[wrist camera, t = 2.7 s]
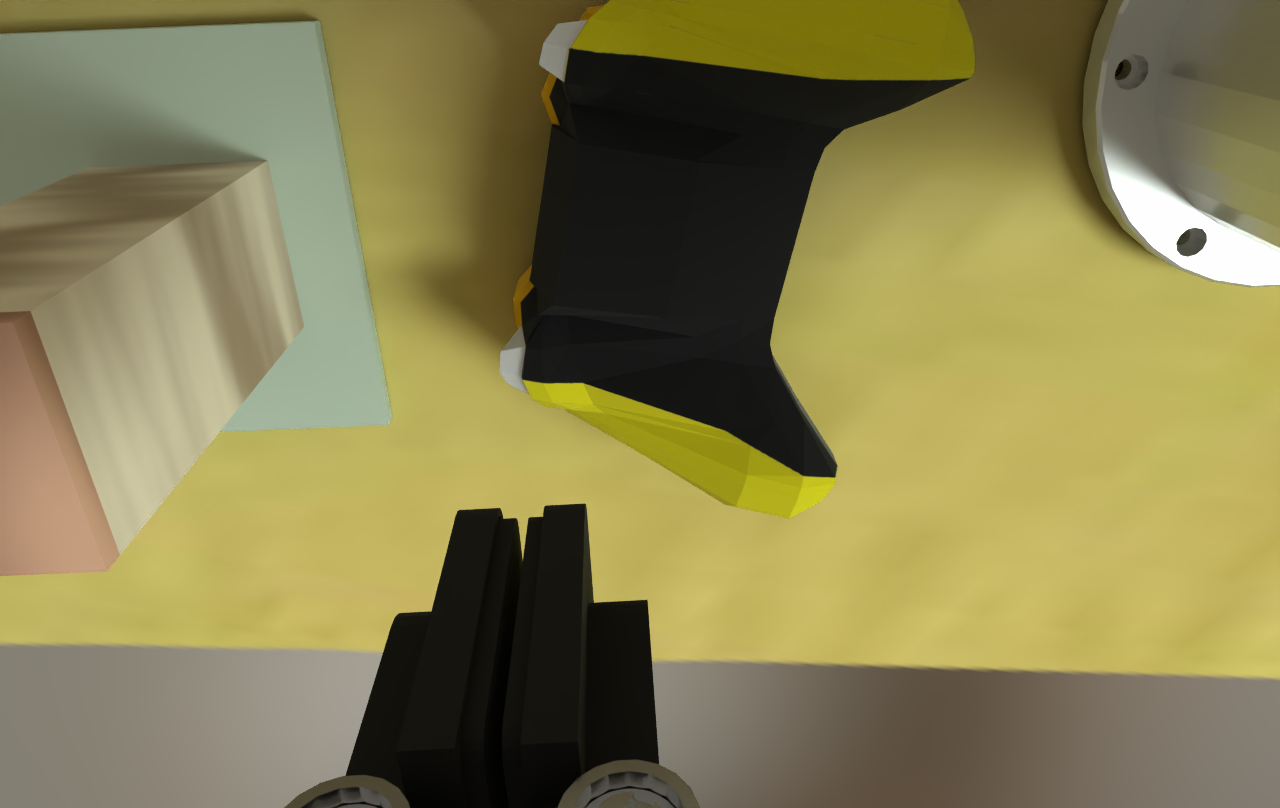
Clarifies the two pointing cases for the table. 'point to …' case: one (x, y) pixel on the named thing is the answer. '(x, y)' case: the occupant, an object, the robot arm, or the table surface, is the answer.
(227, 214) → the birch pillar
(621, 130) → the gaming controller
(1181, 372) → the table surface
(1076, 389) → the table surface
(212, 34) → the sage mat
